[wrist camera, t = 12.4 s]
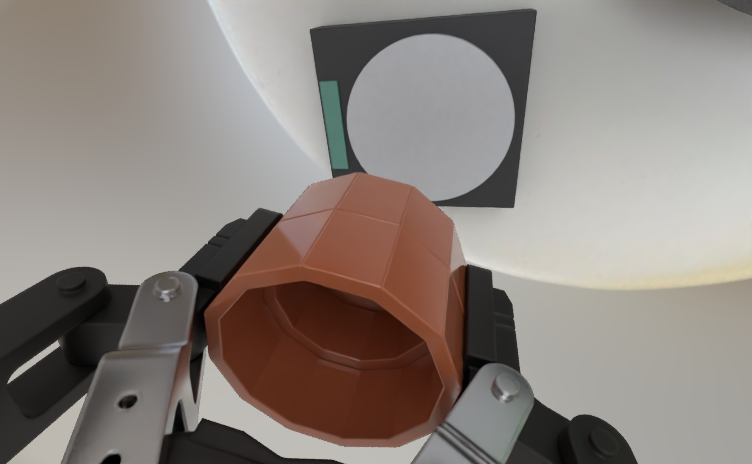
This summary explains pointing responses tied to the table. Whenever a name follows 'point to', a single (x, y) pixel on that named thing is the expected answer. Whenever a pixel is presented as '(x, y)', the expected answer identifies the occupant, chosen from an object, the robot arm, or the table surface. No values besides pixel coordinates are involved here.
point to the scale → (429, 102)
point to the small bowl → (348, 315)
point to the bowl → (739, 5)
